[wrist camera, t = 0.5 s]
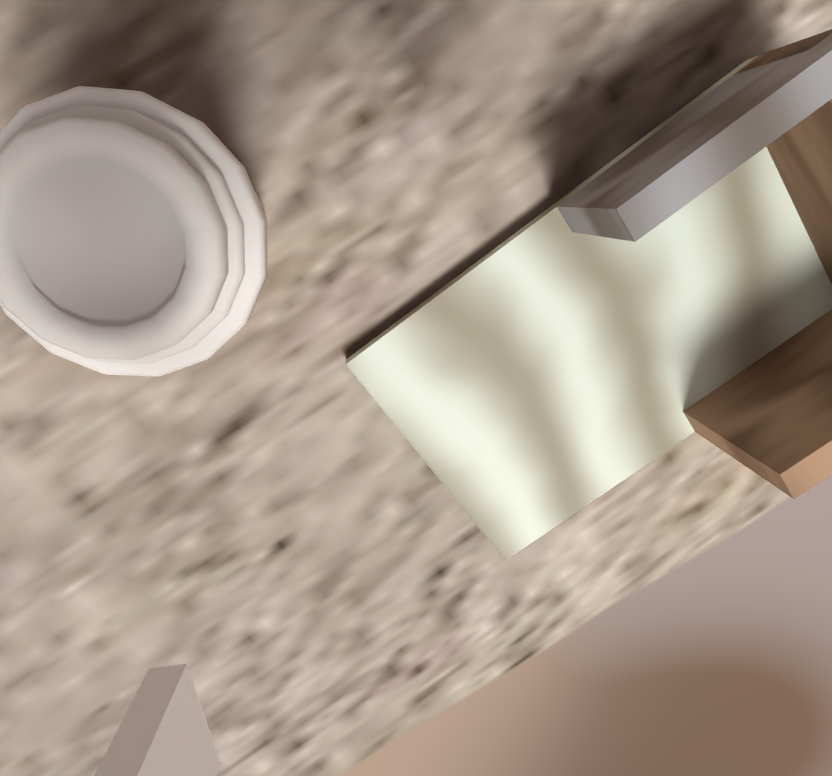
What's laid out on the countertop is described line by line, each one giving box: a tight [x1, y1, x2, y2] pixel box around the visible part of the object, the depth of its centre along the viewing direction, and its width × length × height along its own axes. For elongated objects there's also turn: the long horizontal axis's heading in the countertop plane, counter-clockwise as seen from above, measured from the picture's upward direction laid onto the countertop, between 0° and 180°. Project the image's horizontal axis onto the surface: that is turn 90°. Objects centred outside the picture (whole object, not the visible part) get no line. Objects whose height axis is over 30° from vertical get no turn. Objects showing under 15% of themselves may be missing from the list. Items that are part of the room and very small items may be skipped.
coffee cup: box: [0, 86, 267, 376], centre depth 23 cm, size 9×9×12 cm
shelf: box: [346, 29, 832, 560], centre depth 28 cm, size 24×15×9 cm, turn 126°
